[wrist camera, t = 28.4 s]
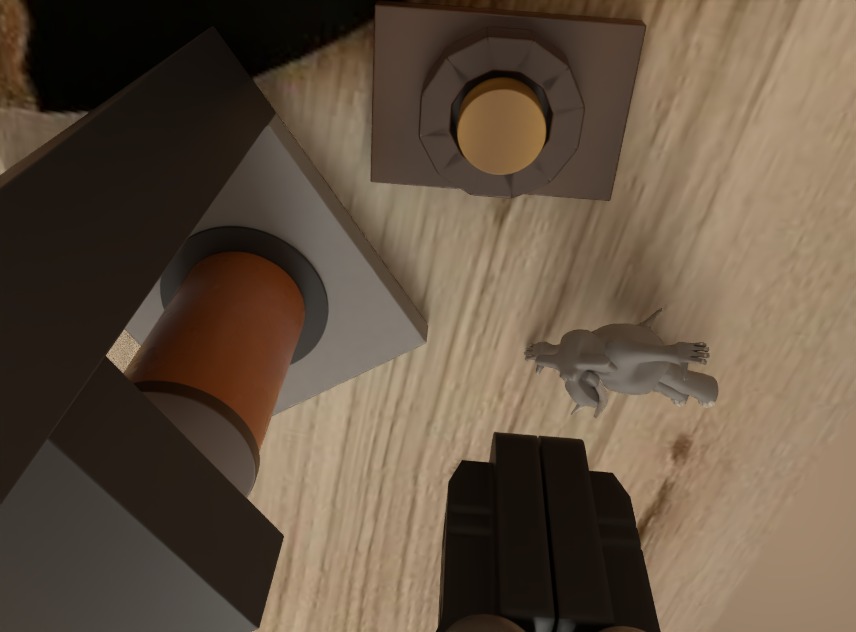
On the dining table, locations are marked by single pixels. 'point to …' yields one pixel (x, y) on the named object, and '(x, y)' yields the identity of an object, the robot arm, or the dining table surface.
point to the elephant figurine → (625, 365)
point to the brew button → (501, 126)
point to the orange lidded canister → (223, 358)
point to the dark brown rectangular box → (138, 313)
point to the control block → (489, 58)
